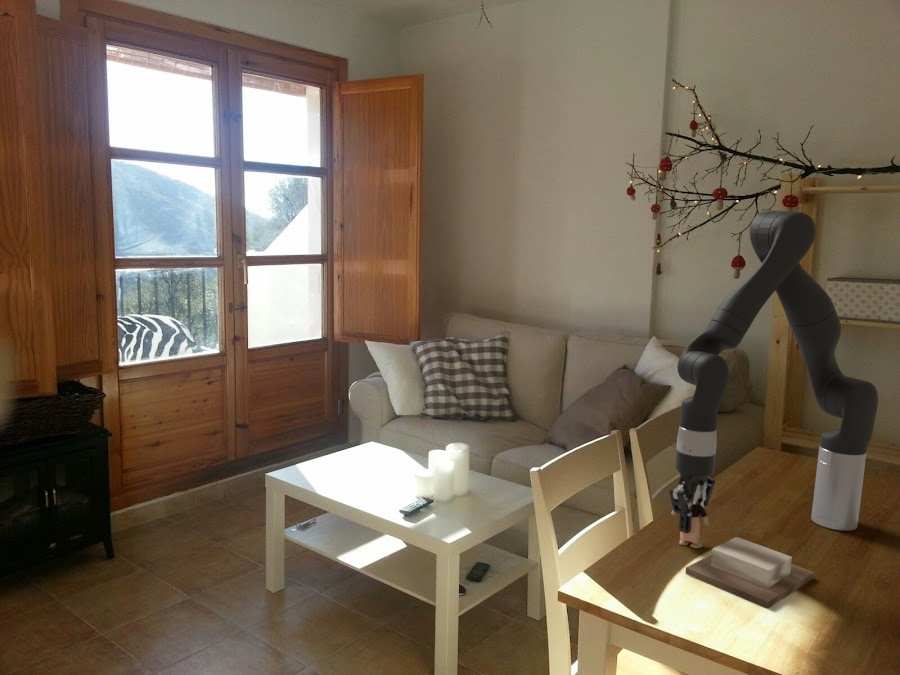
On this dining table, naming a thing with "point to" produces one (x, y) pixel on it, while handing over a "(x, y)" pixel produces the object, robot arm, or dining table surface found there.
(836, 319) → the robot arm
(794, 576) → the plinth
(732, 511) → the dining table surface
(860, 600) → the dining table surface
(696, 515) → the grandmother figurine
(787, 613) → the dining table surface
